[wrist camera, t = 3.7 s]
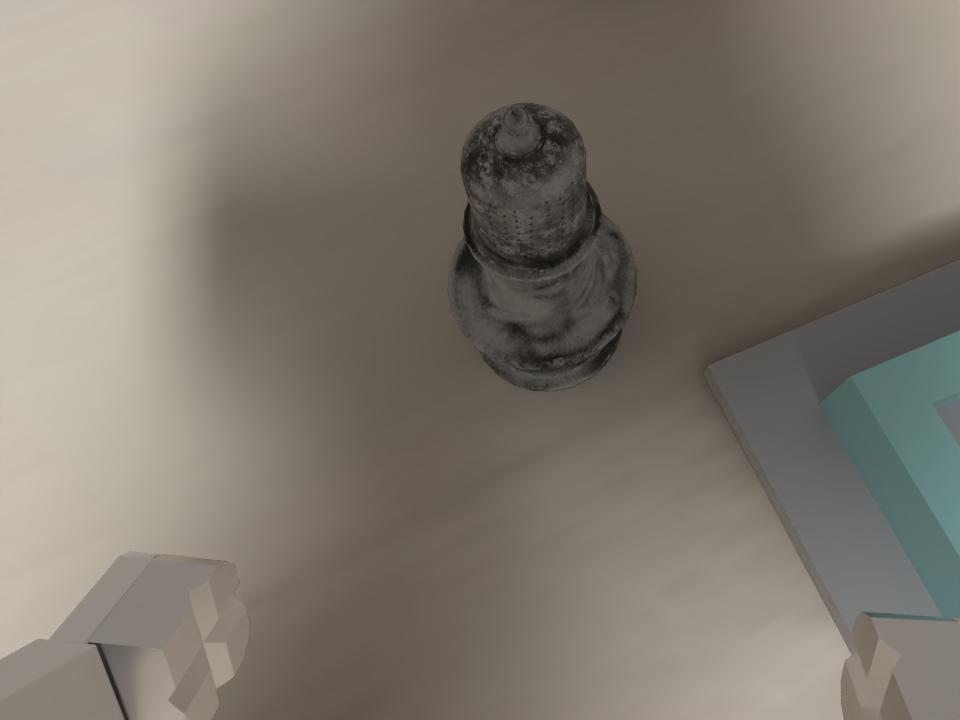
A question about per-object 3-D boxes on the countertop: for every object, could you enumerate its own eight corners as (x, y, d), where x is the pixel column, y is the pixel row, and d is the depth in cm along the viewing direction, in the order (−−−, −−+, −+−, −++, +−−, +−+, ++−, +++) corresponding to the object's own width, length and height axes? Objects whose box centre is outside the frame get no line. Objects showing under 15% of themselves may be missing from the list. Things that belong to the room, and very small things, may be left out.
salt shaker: (640, 392, 25) (681, 222, 14) (468, 406, 26) (375, 255, 15) (621, 236, 27) (644, -25, 16) (461, 253, 28) (374, 14, 17)
